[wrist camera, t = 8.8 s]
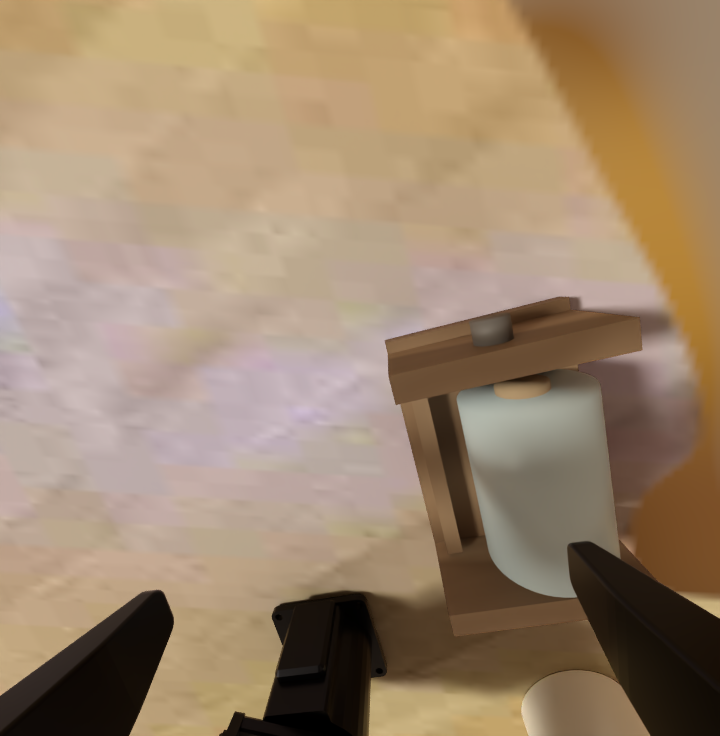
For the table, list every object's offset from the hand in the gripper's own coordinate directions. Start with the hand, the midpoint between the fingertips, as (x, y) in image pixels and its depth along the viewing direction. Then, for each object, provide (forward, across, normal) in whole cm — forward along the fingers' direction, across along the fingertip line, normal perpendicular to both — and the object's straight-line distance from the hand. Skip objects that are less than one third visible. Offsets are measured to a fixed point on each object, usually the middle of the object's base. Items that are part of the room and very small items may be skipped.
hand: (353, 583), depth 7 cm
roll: (+11, -6, +3) cm, 13 cm away
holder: (+12, -6, +3) cm, 14 cm away
